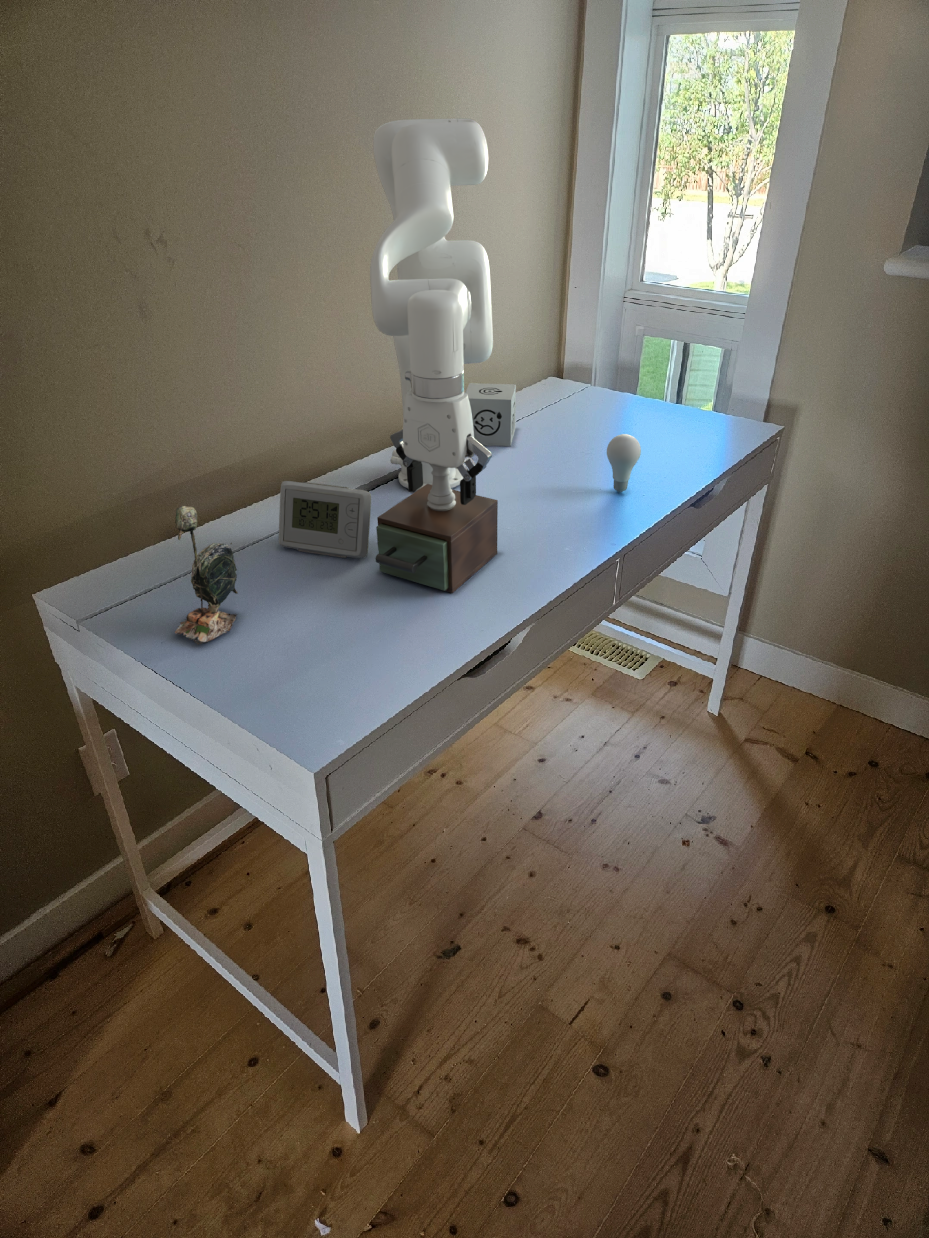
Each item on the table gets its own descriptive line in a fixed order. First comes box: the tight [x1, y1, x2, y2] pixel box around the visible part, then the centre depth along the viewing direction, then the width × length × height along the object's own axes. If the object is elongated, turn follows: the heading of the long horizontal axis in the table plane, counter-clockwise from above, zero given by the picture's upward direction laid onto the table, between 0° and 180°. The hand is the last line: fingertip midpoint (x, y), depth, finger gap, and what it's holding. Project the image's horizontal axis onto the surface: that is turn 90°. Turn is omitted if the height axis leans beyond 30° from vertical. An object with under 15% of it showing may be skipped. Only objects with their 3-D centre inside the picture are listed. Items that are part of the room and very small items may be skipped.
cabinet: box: [376, 484, 499, 594], centre depth 130 cm, size 14×13×10 cm
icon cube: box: [464, 382, 517, 447], centre depth 176 cm, size 10×10×10 cm
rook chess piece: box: [427, 463, 456, 511], centre depth 126 cm, size 4×4×8 cm
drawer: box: [375, 524, 449, 592], centre depth 127 cm, size 17×12×8 cm
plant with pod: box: [174, 505, 239, 645], centre depth 113 cm, size 8×11×20 cm
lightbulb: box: [606, 433, 642, 493], centre depth 151 cm, size 6×6×11 cm
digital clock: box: [278, 480, 372, 559], centre depth 135 cm, size 16×9×11 cm, turn 60°
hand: (441, 495), depth 127 cm, fingers open, 9 cm apart
